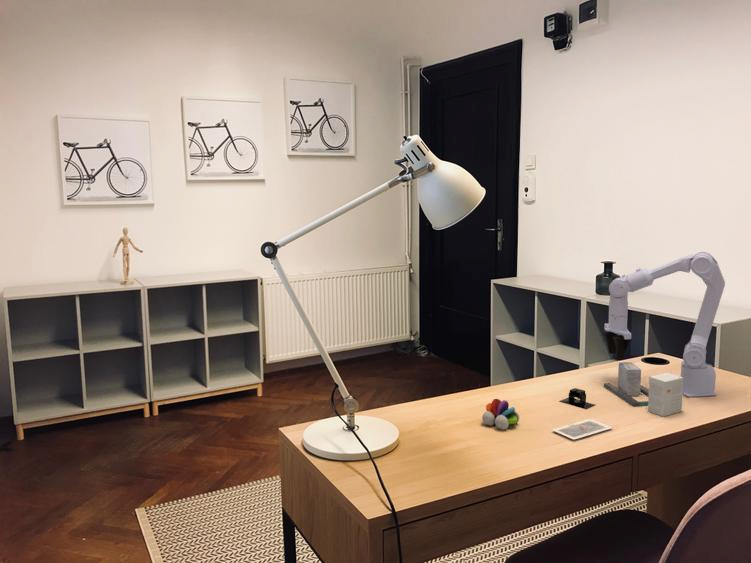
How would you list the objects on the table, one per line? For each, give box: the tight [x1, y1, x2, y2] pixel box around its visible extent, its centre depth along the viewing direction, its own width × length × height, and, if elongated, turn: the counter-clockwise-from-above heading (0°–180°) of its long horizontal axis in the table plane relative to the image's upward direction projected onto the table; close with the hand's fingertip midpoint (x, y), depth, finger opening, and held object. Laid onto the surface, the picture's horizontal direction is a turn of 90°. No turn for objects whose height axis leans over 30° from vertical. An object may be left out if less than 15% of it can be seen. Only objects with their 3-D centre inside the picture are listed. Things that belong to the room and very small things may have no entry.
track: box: [603, 382, 649, 408], centre depth 202 cm, size 11×19×1 cm, turn 6°
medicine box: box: [617, 361, 642, 397], centre depth 204 cm, size 8×4×9 cm, turn 179°
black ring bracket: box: [558, 387, 596, 410], centre depth 196 cm, size 12×7×5 cm, turn 41°
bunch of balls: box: [481, 398, 520, 430], centre depth 180 cm, size 8×10×7 cm
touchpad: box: [552, 418, 614, 440], centre depth 174 cm, size 8×15×2 cm, turn 120°
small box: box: [647, 372, 684, 418], centre depth 187 cm, size 8×6×10 cm
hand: (616, 355), depth 212 cm, fingers open, 5 cm apart
